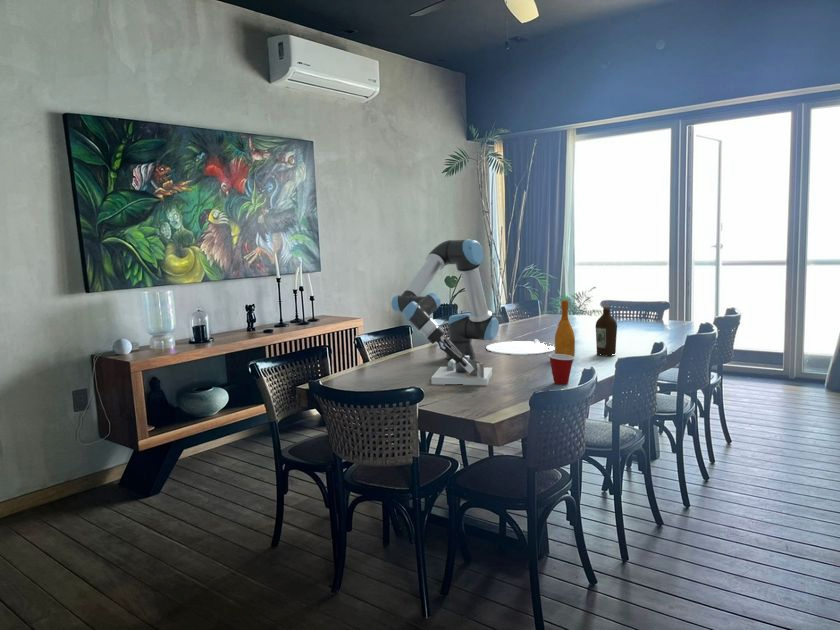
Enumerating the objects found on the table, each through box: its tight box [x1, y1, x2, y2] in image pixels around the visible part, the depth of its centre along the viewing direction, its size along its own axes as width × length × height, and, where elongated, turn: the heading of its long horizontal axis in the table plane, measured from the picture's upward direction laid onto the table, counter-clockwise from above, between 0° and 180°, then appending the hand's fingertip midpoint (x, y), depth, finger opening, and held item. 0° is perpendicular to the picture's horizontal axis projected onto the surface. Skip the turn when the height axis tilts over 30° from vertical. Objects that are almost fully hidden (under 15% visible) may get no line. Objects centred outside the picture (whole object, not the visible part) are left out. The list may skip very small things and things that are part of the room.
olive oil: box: [595, 306, 618, 355], centre depth 316 cm, size 11×11×25 cm
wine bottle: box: [554, 300, 576, 357], centre depth 307 cm, size 10×10×30 cm
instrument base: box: [430, 359, 493, 386], centre depth 273 cm, size 22×24×7 cm
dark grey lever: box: [454, 354, 485, 379], centre depth 266 cm, size 21×6×7 cm, turn 22°
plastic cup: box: [548, 353, 576, 386], centre depth 259 cm, size 11×11×12 cm
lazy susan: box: [485, 338, 555, 356], centre depth 343 cm, size 40×39×3 cm
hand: (472, 370), depth 259 cm, fingers closed
